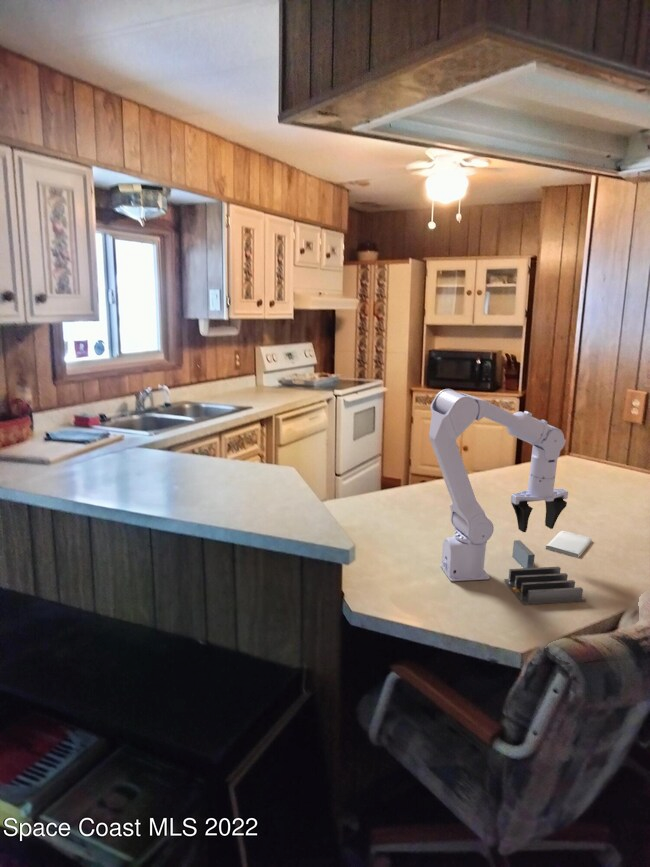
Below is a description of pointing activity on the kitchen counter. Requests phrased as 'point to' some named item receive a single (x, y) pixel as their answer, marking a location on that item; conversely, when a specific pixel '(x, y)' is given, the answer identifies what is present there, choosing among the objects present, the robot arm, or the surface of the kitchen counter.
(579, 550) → the hard drive
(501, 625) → the kitchen counter surface
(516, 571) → the slot rack
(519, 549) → the panel
